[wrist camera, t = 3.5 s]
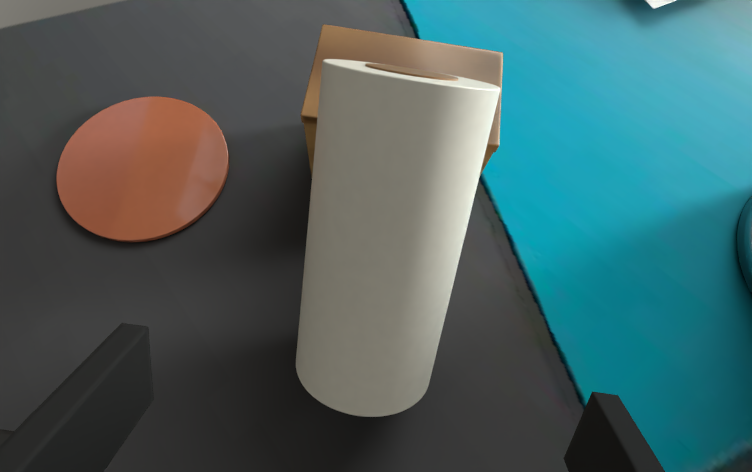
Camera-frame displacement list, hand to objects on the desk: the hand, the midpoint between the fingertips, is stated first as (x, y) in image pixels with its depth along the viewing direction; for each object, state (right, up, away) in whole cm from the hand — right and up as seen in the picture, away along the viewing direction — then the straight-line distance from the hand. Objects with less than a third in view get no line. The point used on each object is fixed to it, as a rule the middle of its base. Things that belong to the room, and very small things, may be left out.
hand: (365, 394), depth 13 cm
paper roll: (0, +2, +15) cm, 15 cm away
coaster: (-15, +9, +17) cm, 25 cm away
